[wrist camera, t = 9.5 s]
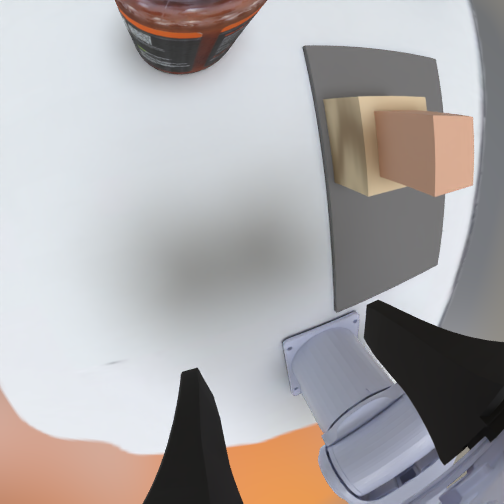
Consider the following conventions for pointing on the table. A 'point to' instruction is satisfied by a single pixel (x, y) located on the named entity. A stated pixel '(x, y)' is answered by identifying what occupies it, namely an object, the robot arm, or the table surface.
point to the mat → (385, 204)
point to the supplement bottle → (185, 30)
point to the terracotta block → (426, 149)
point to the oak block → (361, 139)
